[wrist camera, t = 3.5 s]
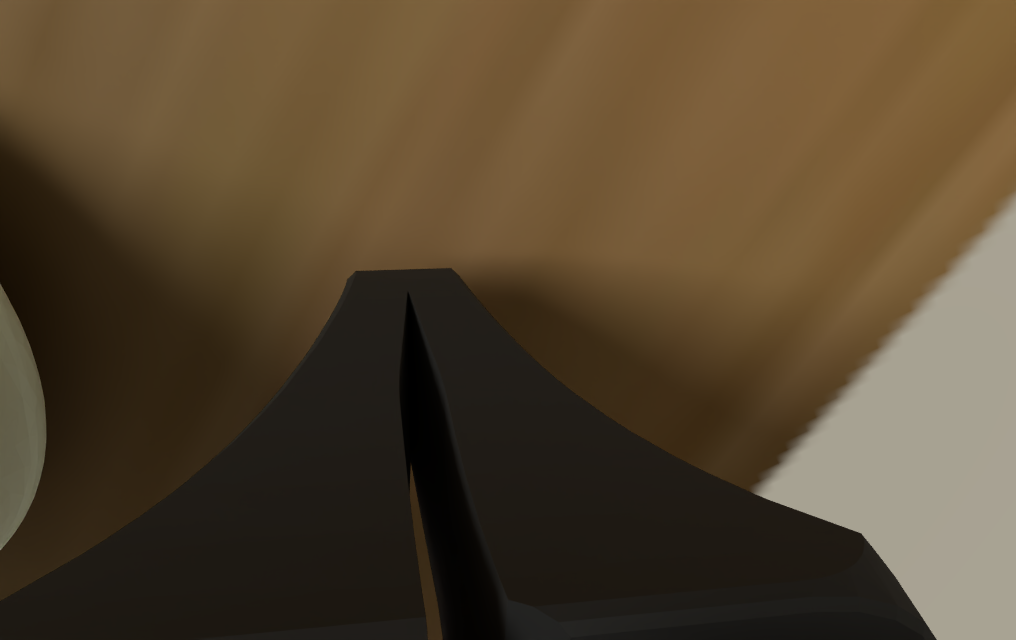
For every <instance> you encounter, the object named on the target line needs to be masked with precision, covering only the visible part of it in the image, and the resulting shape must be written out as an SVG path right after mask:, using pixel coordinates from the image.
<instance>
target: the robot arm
mask: <svg viewBox="0 0 1016 640" xmlns="http://www.w3.org/2000/svg"><path fill="white" fill-rule="evenodd" d="M411 465H412V471H413V476H414V481H415V487H416V492H417V497H418V502H419V508H420V513H421V518H422V523H423V529H424V534H425V539H426V544H427V549H428V555H429V560H430V565H431V570H432V575H433V581H434V586H435V591H436V596H437V602H438V608H439V615H440V622H441V629H442V635H443V640H936V638H935V637H934V635H933V634H932V632H931V630H930V629H929V627H928V626H927V624H926V623H925V621H924V620H923V618H922V617H921V615H920V614H919V612H918V611H917V609H916V608H915V606H914V605H913V603H912V602H911V600H910V599H909V597H908V596H907V594H906V593H905V591H904V590H903V588H902V587H901V585H900V584H899V582H898V581H897V579H896V577H895V576H894V575H893V574H892V572H891V571H890V570H889V568H888V567H887V566H886V564H885V563H884V562H883V560H882V559H881V558H880V557H879V555H878V554H877V553H876V551H875V550H874V549H873V548H872V546H871V545H870V544H869V543H868V541H867V540H866V539H865V538H864V537H863V535H862V534H861V533H858V532H855V531H853V530H850V529H847V528H844V527H842V526H839V525H836V524H833V523H831V522H828V521H825V520H823V519H820V518H817V517H814V516H811V515H809V514H806V513H803V512H800V511H797V510H794V509H792V508H789V507H787V506H784V505H781V504H778V503H775V502H773V501H770V500H767V499H765V498H763V497H760V496H758V495H755V494H753V493H751V492H749V491H746V490H744V489H742V488H740V487H738V486H735V485H733V484H731V483H729V482H726V481H724V480H722V479H720V478H718V477H715V476H713V475H711V474H709V473H706V472H704V471H703V470H701V469H699V468H697V467H695V466H693V465H691V464H689V463H687V462H685V461H683V460H681V459H679V458H677V457H675V456H673V455H671V454H669V453H668V452H666V451H664V450H662V449H661V448H659V447H657V446H655V445H654V444H652V443H650V442H648V441H647V440H645V439H643V438H641V437H640V436H638V435H636V434H634V433H632V432H631V431H629V430H628V429H626V428H625V427H623V426H621V425H620V424H618V423H617V422H615V421H613V420H612V419H610V418H609V417H607V416H606V415H605V414H603V413H602V412H600V411H599V410H598V409H596V408H595V407H593V406H592V405H590V404H589V403H588V402H586V401H585V400H583V399H582V398H581V397H579V396H578V395H576V394H575V393H574V392H572V391H571V390H570V389H569V388H567V387H566V386H565V385H563V384H562V383H561V382H560V381H558V380H557V379H556V378H555V377H554V376H552V375H551V374H550V373H549V372H548V371H547V370H546V369H544V368H543V367H542V366H541V365H540V364H539V363H538V362H537V361H536V360H535V359H533V358H532V357H531V356H530V355H529V354H528V353H527V352H526V351H525V350H524V349H523V348H522V347H521V346H520V345H519V344H518V343H517V342H516V341H515V340H514V339H513V338H512V337H511V336H510V335H509V334H508V332H507V331H506V330H505V329H504V328H503V327H502V326H501V325H500V324H499V323H498V322H497V321H496V320H495V319H494V318H493V316H492V315H491V314H490V313H489V312H488V311H487V310H486V308H485V307H484V306H483V305H482V304H481V303H480V301H479V300H478V299H477V298H476V297H475V295H474V294H473V293H472V292H471V290H470V289H469V288H468V287H467V285H466V284H465V283H464V282H463V280H462V279H461V278H460V276H459V275H458V274H457V273H456V272H455V271H453V270H452V269H451V268H442V269H410V270H378V271H356V272H355V273H354V274H353V275H352V276H351V277H349V278H348V279H347V283H346V286H345V288H344V291H343V293H342V295H341V298H340V300H339V302H338V304H337V306H336V307H335V309H334V311H333V313H332V315H331V316H330V318H329V320H328V322H327V323H326V325H325V326H324V328H323V330H322V331H321V333H320V334H319V336H318V337H317V339H316V341H315V342H314V344H313V345H312V347H311V348H310V350H309V351H308V353H307V354H306V356H305V357H304V359H303V360H302V361H301V363H300V364H299V365H298V366H297V368H296V369H295V370H294V372H293V373H292V374H291V376H290V377H289V378H288V379H287V381H286V382H285V383H284V385H283V386H282V387H281V389H280V390H279V391H278V392H277V394H276V395H275V396H274V397H273V398H272V399H271V401H270V402H269V403H268V404H267V405H266V406H265V408H264V409H263V410H262V411H261V412H260V413H259V414H258V415H257V416H256V417H255V419H254V420H253V421H252V422H251V423H250V424H249V425H248V426H247V427H246V428H245V429H244V430H243V431H242V432H241V433H240V434H239V435H238V436H237V437H236V438H235V439H234V440H233V441H232V442H231V443H230V444H229V445H228V446H227V447H226V448H225V449H223V450H222V451H221V452H220V453H219V454H218V455H217V456H216V457H215V458H213V459H212V460H211V461H210V462H209V463H208V464H207V465H206V466H204V467H203V468H202V469H201V470H200V471H198V472H197V473H196V474H195V475H194V476H192V477H191V478H190V479H189V480H188V481H187V482H185V483H184V484H183V485H182V486H181V487H179V488H178V489H177V490H175V491H174V492H173V493H172V494H170V495H169V496H167V497H166V498H165V499H163V500H162V501H161V502H159V503H158V504H156V505H155V506H154V507H152V508H151V509H150V510H148V511H147V512H145V513H144V514H143V515H141V516H140V517H138V518H137V519H135V520H134V521H132V522H131V523H129V524H128V525H126V526H125V527H123V528H122V529H120V530H119V531H117V532H116V533H114V534H113V535H112V536H110V537H109V538H107V539H106V540H104V541H102V542H101V543H99V544H98V545H96V546H94V547H93V548H91V549H90V550H88V551H86V552H85V553H83V554H82V555H80V556H78V557H77V558H75V559H73V560H71V561H70V562H68V563H66V564H64V565H63V566H61V567H59V568H57V569H56V570H54V571H52V572H50V573H49V574H47V575H45V576H43V577H42V578H40V579H38V580H36V581H35V582H33V583H31V584H29V585H28V586H26V587H24V588H22V589H21V590H19V591H17V592H16V593H14V594H12V595H10V596H9V597H7V598H5V599H3V600H1V601H0V640H428V636H427V625H426V615H425V608H424V602H423V595H422V589H421V582H420V574H419V567H418V559H417V552H416V545H415V537H414V530H413V521H412V513H411V504H410V496H409V494H410V468H411Z"/></svg>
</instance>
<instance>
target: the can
mask: <svg viewBox="0 0 1016 640" xmlns="http://www.w3.org/2000/svg"><path fill="white" fill-rule="evenodd" d="M45 449H46V415H45V402H44V395H43V391H42V386H41V381H40V377H39V372H38V369H37V366H36V363H35V360H34V356H33V353H32V350H31V347H30V344H29V342H28V339H27V337H26V334H25V332H24V330H23V327H22V325H21V322H20V320H19V318H18V316H17V314H16V312H15V311H14V309H13V307H12V305H11V303H10V301H9V299H8V297H7V295H6V293H5V291H4V289H3V288H2V286H1V284H0V550H1V549H2V548H3V547H4V546H5V544H6V543H7V542H8V541H9V539H10V538H11V537H12V536H13V534H14V533H15V532H16V530H17V529H18V527H19V526H20V524H21V522H22V521H23V519H24V517H25V515H26V513H27V511H28V509H29V507H30V505H31V503H32V501H33V499H34V497H35V493H36V490H37V487H38V484H39V481H40V477H41V473H42V469H43V464H44V458H45Z"/></svg>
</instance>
